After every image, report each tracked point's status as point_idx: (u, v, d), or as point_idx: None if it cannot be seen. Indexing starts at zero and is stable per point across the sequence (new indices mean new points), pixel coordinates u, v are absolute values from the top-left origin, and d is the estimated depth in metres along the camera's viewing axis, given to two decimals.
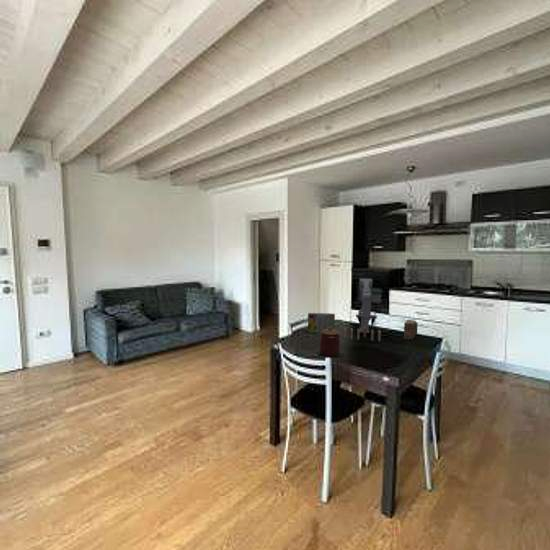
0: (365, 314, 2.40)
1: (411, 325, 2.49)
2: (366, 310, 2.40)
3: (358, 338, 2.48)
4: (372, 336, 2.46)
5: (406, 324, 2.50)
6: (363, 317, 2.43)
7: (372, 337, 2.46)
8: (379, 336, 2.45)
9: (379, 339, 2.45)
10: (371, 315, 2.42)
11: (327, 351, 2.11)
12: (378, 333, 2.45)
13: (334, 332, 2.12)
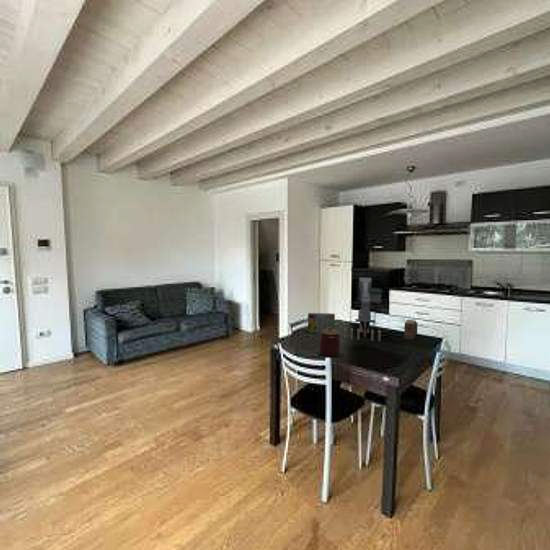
0: (364, 319, 2.54)
1: (411, 325, 2.49)
2: (365, 315, 2.53)
3: (358, 338, 2.48)
4: (372, 336, 2.46)
5: (406, 324, 2.51)
6: (362, 321, 2.56)
7: (372, 337, 2.46)
8: (379, 336, 2.45)
9: (379, 339, 2.45)
10: (370, 320, 2.55)
11: (327, 351, 2.11)
12: (378, 333, 2.45)
13: (334, 332, 2.12)
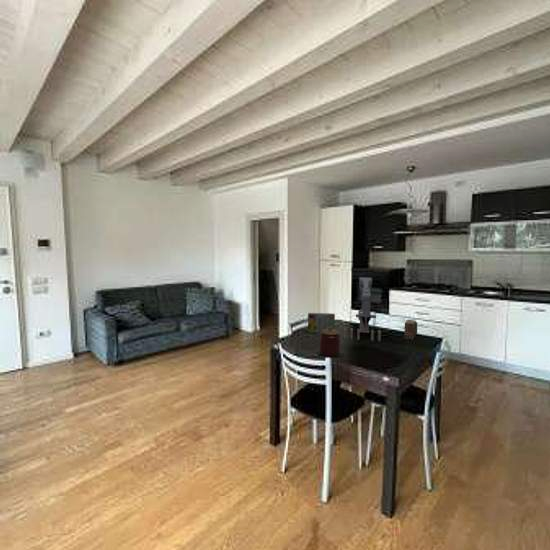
0: (365, 314, 2.46)
1: (411, 325, 2.49)
2: (366, 310, 2.46)
3: (358, 338, 2.48)
4: (372, 336, 2.46)
5: (406, 324, 2.51)
6: None
7: (372, 337, 2.46)
8: (379, 336, 2.45)
9: (379, 339, 2.45)
10: (370, 315, 2.48)
11: (327, 351, 2.11)
12: (378, 333, 2.45)
13: (334, 332, 2.12)
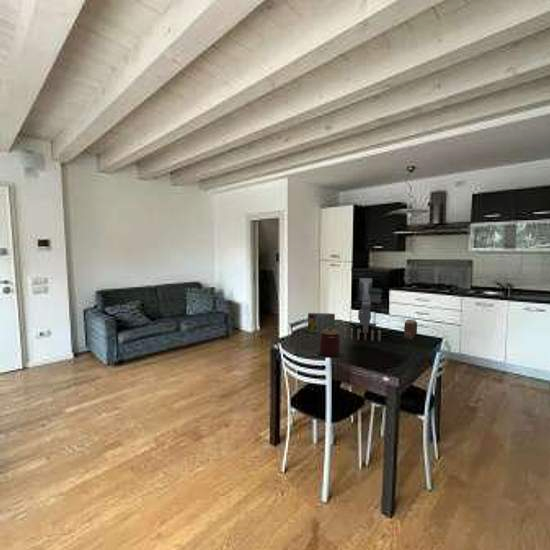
0: (364, 322, 2.46)
1: (411, 325, 2.49)
2: (365, 318, 2.45)
3: (358, 338, 2.48)
4: (372, 336, 2.46)
5: (406, 324, 2.51)
6: (362, 325, 2.49)
7: (372, 337, 2.46)
8: (379, 336, 2.45)
9: (379, 339, 2.45)
10: (370, 323, 2.48)
11: (327, 351, 2.11)
12: (378, 333, 2.45)
13: (334, 332, 2.12)
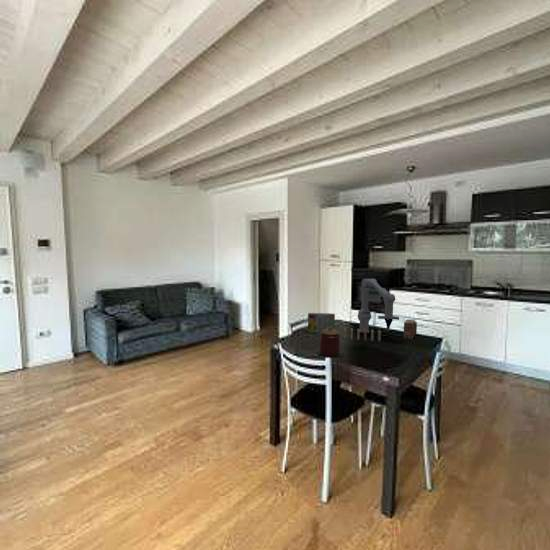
0: (387, 315, 2.42)
1: (411, 325, 2.50)
2: (389, 311, 2.41)
3: (358, 338, 2.48)
4: (372, 336, 2.46)
5: (406, 324, 2.52)
6: (385, 318, 2.45)
7: (372, 337, 2.46)
8: (379, 336, 2.45)
9: (379, 339, 2.45)
10: (393, 316, 2.44)
11: (327, 351, 2.11)
12: (378, 333, 2.45)
13: (334, 332, 2.12)
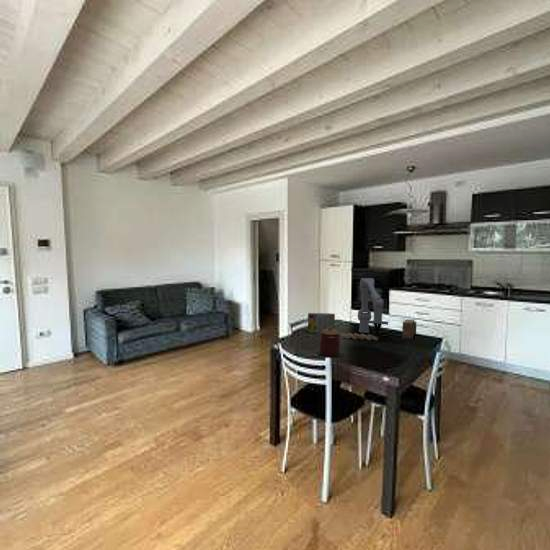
0: (376, 320, 2.44)
1: (409, 324, 2.51)
2: (377, 316, 2.43)
3: (355, 338, 2.49)
4: (366, 338, 2.47)
5: (404, 323, 2.53)
6: None
7: (367, 338, 2.47)
8: (373, 338, 2.46)
9: (376, 339, 2.46)
10: (382, 321, 2.46)
11: (327, 351, 2.11)
12: (369, 337, 2.47)
13: (334, 332, 2.12)
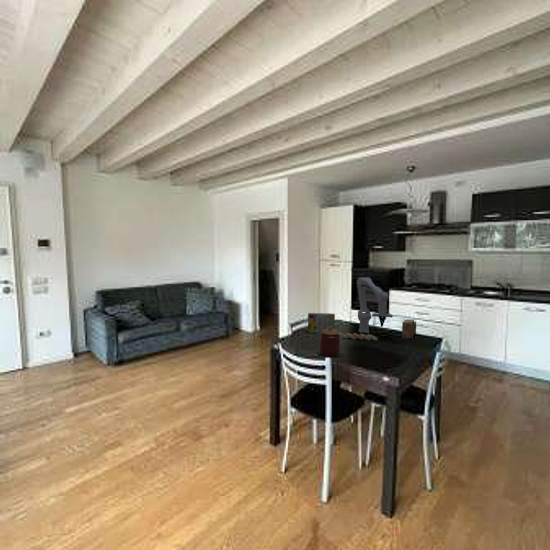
0: (381, 313, 2.48)
1: (409, 324, 2.51)
2: (382, 309, 2.47)
3: (354, 338, 2.49)
4: (365, 337, 2.47)
5: (404, 323, 2.53)
6: (379, 316, 2.50)
7: (366, 338, 2.47)
8: (372, 338, 2.46)
9: (375, 339, 2.46)
10: (387, 314, 2.49)
11: (327, 351, 2.11)
12: (369, 337, 2.47)
13: (334, 332, 2.12)
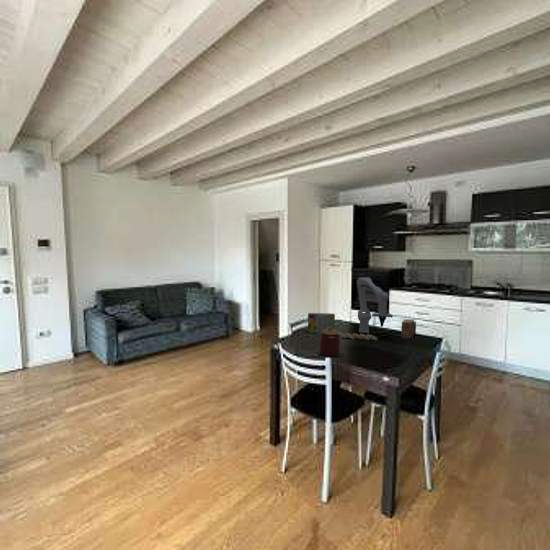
0: (381, 313, 2.48)
1: (408, 324, 2.51)
2: (382, 309, 2.47)
3: (353, 338, 2.49)
4: (365, 337, 2.47)
5: (403, 323, 2.53)
6: (379, 316, 2.50)
7: (366, 338, 2.47)
8: (372, 338, 2.46)
9: (375, 339, 2.46)
10: (387, 314, 2.49)
11: (327, 351, 2.11)
12: (369, 337, 2.47)
13: (334, 332, 2.12)
